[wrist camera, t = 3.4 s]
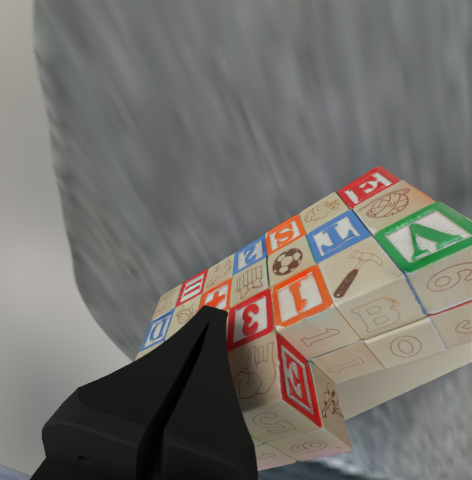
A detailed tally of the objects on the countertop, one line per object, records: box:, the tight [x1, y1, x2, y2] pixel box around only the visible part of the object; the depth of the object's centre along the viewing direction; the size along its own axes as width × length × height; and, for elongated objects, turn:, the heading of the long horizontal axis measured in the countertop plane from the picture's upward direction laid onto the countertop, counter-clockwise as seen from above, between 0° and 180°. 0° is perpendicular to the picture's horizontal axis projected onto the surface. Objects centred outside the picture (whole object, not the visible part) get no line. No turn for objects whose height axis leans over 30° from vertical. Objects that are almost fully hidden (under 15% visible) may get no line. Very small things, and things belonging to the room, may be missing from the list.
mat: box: [336, 342, 472, 420], centre depth 24 cm, size 14×26×1 cm, turn 139°
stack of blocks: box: [135, 166, 472, 471], centre depth 16 cm, size 21×6×12 cm, turn 126°
